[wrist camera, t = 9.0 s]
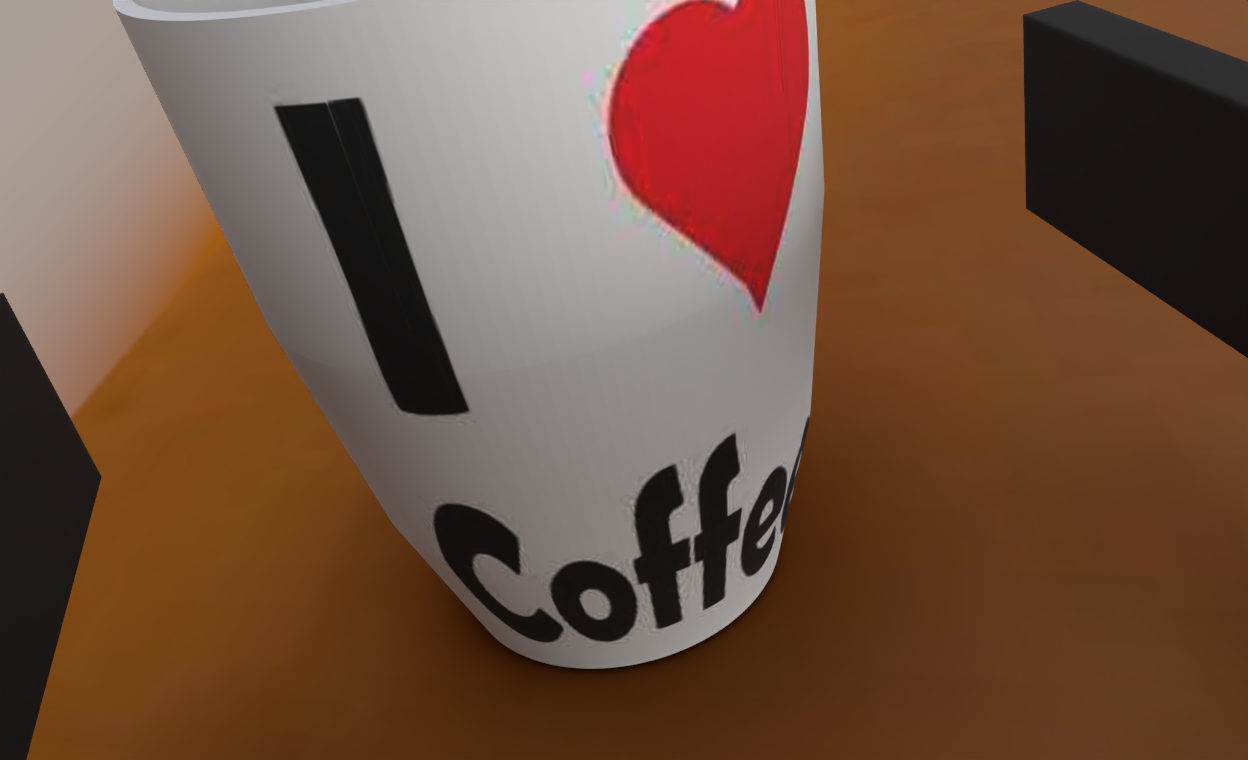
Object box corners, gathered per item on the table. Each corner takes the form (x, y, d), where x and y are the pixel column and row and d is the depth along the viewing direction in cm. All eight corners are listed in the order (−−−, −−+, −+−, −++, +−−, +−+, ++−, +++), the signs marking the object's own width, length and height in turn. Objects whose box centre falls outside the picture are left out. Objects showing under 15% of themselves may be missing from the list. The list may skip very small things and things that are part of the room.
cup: (405, 837, 15) (62, 83, 10) (360, 491, 22) (144, -61, 17) (980, 632, 16) (943, -148, 11) (766, 363, 23) (680, -195, 18)
